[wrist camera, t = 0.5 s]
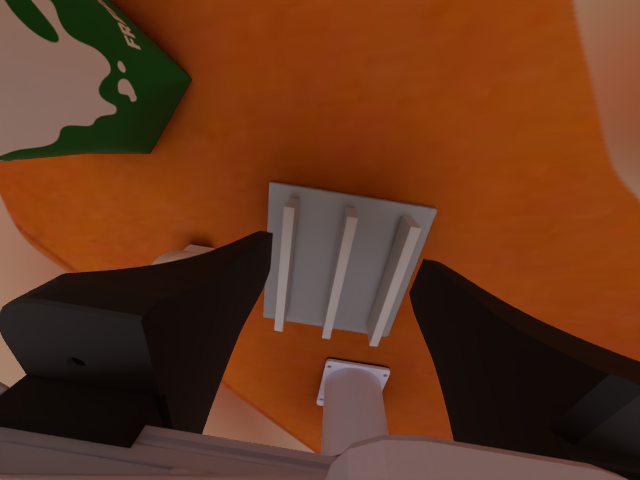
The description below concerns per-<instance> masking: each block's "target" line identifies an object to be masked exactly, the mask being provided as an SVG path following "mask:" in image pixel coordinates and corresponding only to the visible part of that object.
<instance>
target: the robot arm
mask: <svg viewBox="0 0 640 480" xmlns="http://www.w3.org/2000/svg"><path fill="white" fill-rule="evenodd" d="M272 242H273V233H270V232H264V231H258V232H255V233H253V234H251V235H249V236H246V237H244V238H242V239H239V240H237V241H235V242H233V243H230V244H228V245H225V246H222V247H220V248H217V249H215V250H212V251H209V252H206V253H203V254H199V255H196V256H192V257H188V258H184V259H180V260H175V261H170V262H165V263H161V264H155V265H149V266H142V267H135V268H127V269H118V270H107V271H94V272H80V273H65V274H62V275H60V276H58V277H56V278H54V279H52V280H51V281H49V282H47V283H45V284H43V285H41V286H39V287H37V288H35V289H33V290H31V291H29V292H28V293H26V294H24V295H22V296H20V297H18V298H16V299H14V300H12V301H11V302H9V303H7V304H6V305H5V306H3V307H2V309H1V311H0V332H1V335H2V337H3V339H4V341H5V342H6V344H7V345H8V347H9V348H10V350H11V351H12V353H13V354H14V356H15V358H16V359H17V361H18V362H19V364H20V365H21V367H22V368H23V370H24V371H25V373H26V374H27V375H26V376H25V377H23V378H22V379H21V380H19V381H18V382H17V383H15V384H14V385H13V386H12V387H10V388H9V387H8V386H6V385H5V384H3V383H1V382H0V480H640V362H639V361H636V360H634V359H631V358H628V357H625V356H623V355H620V354H618V353H615V352H612V351H610V350H607V349H605V348H602V347H600V346H597V345H595V344H592V343H590V342H587V341H585V340H582V339H580V338H578V337H575V336H573V335H571V334H568V333H566V332H564V331H562V330H560V329H557V328H555V327H553V326H551V325H548V324H546V323H544V322H542V321H540V320H538V319H536V318H534V317H532V316H530V315H528V314H526V313H524V312H522V311H520V310H518V309H517V308H515V307H513V306H511V305H509V304H507V303H506V302H504V301H502V300H500V299H499V298H497V297H495V296H494V295H492V294H490V293H488V292H487V291H485V290H484V289H482V288H480V287H479V286H477V285H476V284H474V283H472V282H471V281H469V280H468V279H466V278H465V277H463V276H461V275H460V274H458V273H457V272H455V271H454V270H452V269H450V268H449V267H447V266H445V265H443V264H442V263H439V262H437V261H433V260H427V259H423V261H422V264H421V266H420V269H419V271H418V273H417V276H416V278H415V281H414V283H413V285H412V288H411V290H410V293H409V294H410V299H411V303H412V307H413V311H414V314H415V317H416V319H417V322H418V324H419V327H420V329H421V332H422V334H423V337H424V339H425V342H426V344H427V346H428V349H429V351H430V354H431V356H432V359H433V362H434V365H435V368H436V371H437V375H438V378H439V382H440V385H441V389H442V393H443V396H444V400H445V404H446V408H447V412H448V416H449V421H450V425H451V430H452V434H453V439H454V441H450V440H444V439H438V438H432V437H426V436H417V435H389V431H388V426H387V420H386V414H385V408H384V402H383V396H382V391H383V388H384V386H385V384H386V382H387V379H388V377H389V375H390V369H389V368H385V367H379V366H373V365H367V364H360V363H354V362H348V361H342V360H335V359H327V360H326V363H325V368H324V372H323V376H322V380H321V385H320V389H319V393H318V397H317V404H318V405H320V406H323V425H322V445H321V454H317V453H311V452H305V451H298V450H293V449H287V448H281V447H275V446H269V445H263V444H256V443H251V442H245V441H238V440H232V439H226V438H220V437H214V436H208V435H202V432H203V429H204V427H205V424H206V421H207V418H208V415H209V412H210V409H211V407H212V404H213V401H214V399H215V396H216V393H217V390H218V388H219V385H220V382H221V380H222V377H223V374H224V372H225V369H226V367H227V364H228V361H229V359H230V356H231V354H232V351H233V349H234V346H235V344H236V341H237V339H238V336H239V334H240V332H241V330H242V328H243V326H244V324H245V322H246V320H247V318H248V316H249V314H250V312H251V310H252V309H253V307H254V305H255V303H256V301H257V299H258V297H259V296H260V294H261V292H262V290H263V288H264V286H265V283H266V281H267V278H268V275H269V272H270V269H271V256H272Z"/></svg>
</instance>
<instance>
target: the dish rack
mask: <svg viewBox="0 0 640 480" xmlns="http://www.w3.org/2000/svg"><path fill="white" fill-rule="evenodd" d="M436 212H437V209H436V208H435V207H429V206H423V205H417V204H411V203H404V202H398V201H392V200H386V199H380V198H373V197H367V196H361V195H355V194H349V193H342V192H336V191H330V190H324V189H318V188H311V187H305V186H299V185H293V184H286V183H280V182H274V181H271V182H269V203H268V225H267V232H270V233H273V242H272V256H271V269H270V272H269V275H268V278H267V281H266V283H265V291H264V313H263V317H265V318H272V319H275V329H274V330H275V331H281V332H282V331H283V327H284V324H285V321H290V322H297V323H303V324H309V325H315V326H322V327H323V330H322V338H325V339H330V336H331V332H332V328H334V329H340V330H347V331H353V332H359V333H365V334H368V340H369V346H375V347H377V346H378V344H379V341H380V338H381V336H384V337H388V335H389V332H390V330H391V327H392V325H393V322H394V319H395V317H396V314H397V312H398V309H399V307H400V304H401V302H402V299H403V296H404V294H405V291H406V289H407V286H408V284H409V281H410V279H411V276H412V273H413V271H414V268H415V266H416V263H417V261H418V258H419V256H420V253H421V251H422V248H423V245H424V243H425V240H426V238H427V235H428V233H429V230H430V228H431V225H432V222H433V220H434V217H435V215H436Z"/></svg>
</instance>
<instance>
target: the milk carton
mask: <svg viewBox="0 0 640 480" xmlns="http://www.w3.org/2000/svg"><path fill="white" fill-rule="evenodd" d="M191 80H192V79H191V77H189V76H188V75H187V74H186V73H185V72H184V71H183V70H182V69H181V68H180V67H179V66H178V65H177V64H176V63H175V62H174V61H173V60H172V59H171V58H170V57H169V56H168V55H167V54H166V53H165V52H164V51H163V50H161V49H160V48H159V47H158V46H157V45H156V44H155V43H154V42H153V41H152V40H151V39H150V38H149V37H148V36H147V35H146V34H145V33H144V32H143V31H142V30H141V29H140V28H139V27H138V26H137V25H136V24H135V23H134V22H132V21H131V20H130V19H129V18H128V17H127V16H126V15H125V14H124V13H123V12H122V11H121V10H120V9H119V8H118V7H117V6H116V5H115V4H114V3H113V2H112V1H111V0H0V162H1V161H12V160H22V159H33V158H44V157H55V156H66V155H77V154H89V153H94V154H150V153H151V151H152V149H153V147H154V145H155V144H156V142H157V140H158V138H159V137H160V135H161V133H162V131H163V129H164V128H165V126H166V124H167V122H168V121H169V119H170V117H171V115H172V113H173V112H174V110H175V108H176V106H177V105H178V103H179V101H180V99H181V98H182V96H183V94H184V92H185V90H186V89H187V87H188V85H189V83H190V82H191Z"/></svg>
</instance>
